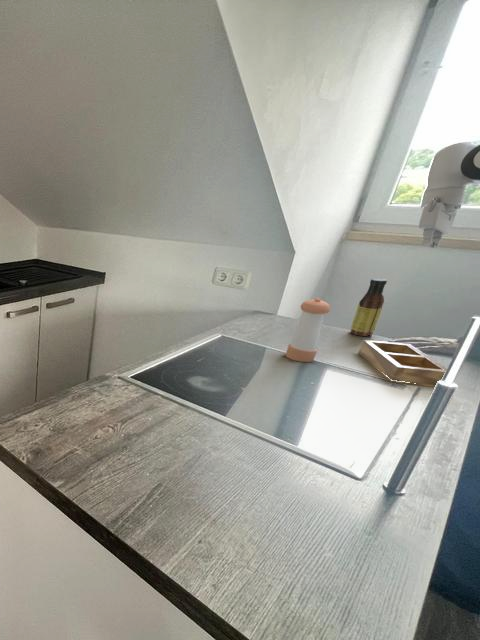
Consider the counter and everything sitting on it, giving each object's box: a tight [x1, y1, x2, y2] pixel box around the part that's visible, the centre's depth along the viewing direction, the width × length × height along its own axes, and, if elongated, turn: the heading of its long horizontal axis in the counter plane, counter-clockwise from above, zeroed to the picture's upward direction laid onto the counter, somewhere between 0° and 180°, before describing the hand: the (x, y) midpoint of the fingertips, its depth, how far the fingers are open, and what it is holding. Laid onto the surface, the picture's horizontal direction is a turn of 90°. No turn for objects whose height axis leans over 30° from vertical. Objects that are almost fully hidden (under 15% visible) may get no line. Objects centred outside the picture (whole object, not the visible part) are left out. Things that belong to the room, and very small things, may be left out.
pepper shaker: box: [285, 297, 331, 363], centre depth 119 cm, size 7×7×19 cm
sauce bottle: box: [350, 277, 388, 337], centre depth 136 cm, size 7×6×20 cm
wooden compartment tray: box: [358, 339, 448, 388], centre depth 112 cm, size 12×22×5 cm, turn 159°
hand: (430, 246), depth 124 cm, fingers open, 8 cm apart
